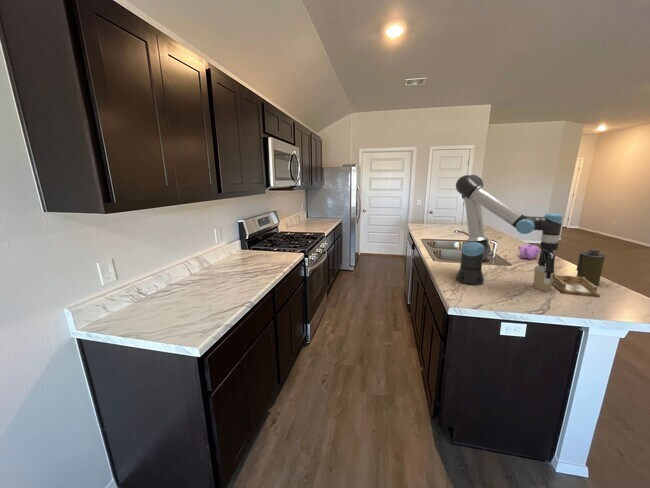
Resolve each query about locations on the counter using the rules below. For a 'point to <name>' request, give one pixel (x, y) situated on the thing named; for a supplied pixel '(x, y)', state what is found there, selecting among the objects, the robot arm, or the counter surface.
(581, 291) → the dock
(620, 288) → the counter surface
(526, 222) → the robot arm
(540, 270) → the coffee cup
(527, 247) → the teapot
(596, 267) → the canister
